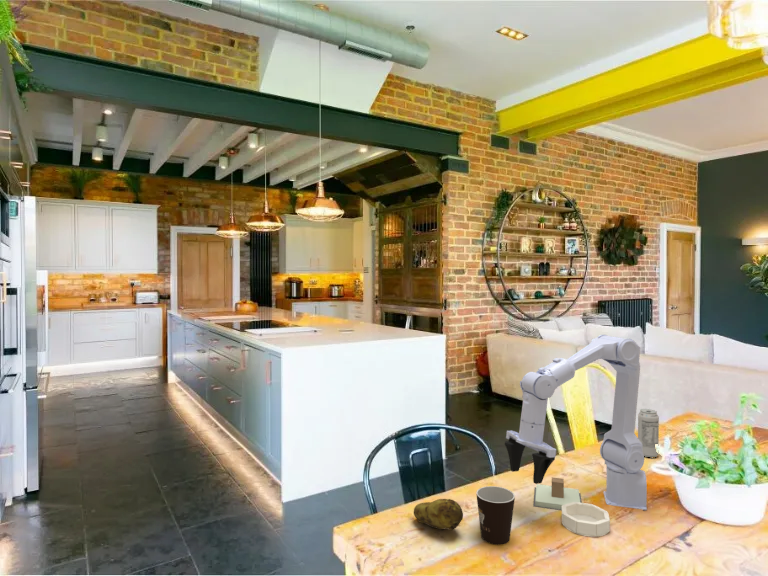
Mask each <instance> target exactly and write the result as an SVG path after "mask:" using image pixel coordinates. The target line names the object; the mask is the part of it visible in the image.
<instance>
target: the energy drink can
mask: <svg viewBox="0 0 768 576" xmlns="http://www.w3.org/2000/svg"><path fill="white" fill-rule="evenodd" d="M639 410H640V411H639V413H638V414H637V416H638V417H637V438H638V439H639V440H640V441H641V443H642V444H643V447H642V451H643V455H644V456H645V457H651V458H650V459H653V458H652V457H656V458H657V456H659V452H658V453H657V452H656V449H655V444H658V445H659V438H660V437H659V436H660V435H659V428H660V427H659V426H660V425H659V423H660V419H659V417H660V416H659V415H658V413H657V412H658V411H657V410H655V409H650V408H641V409H639ZM645 457H644V458H645Z"/></svg>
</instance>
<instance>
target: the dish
mask: <svg viewBox="0 0 768 576" xmlns="http://www.w3.org/2000/svg"><path fill="white" fill-rule="evenodd" d="M610 519H611V518H610V515H609V512H608V511H607V510H605V509H603V508H602V507H599V506H598V505H595V504H593V503H587V502H586V503H585V502H582V503H580V502H572V503H568V504H565V505H562V511H561V524H562V526H563V527H564V528H565V529H567V531H570V532H572V533H574V534H576V535H579V536H583V537H584V536H585V537H591V538H598V537H602V536H603V537H604V536H606V535H608V533H609V532H611V531H610V530H611V527H610V526H611V520H610Z"/></svg>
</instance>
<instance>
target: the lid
mask: <svg viewBox="0 0 768 576" xmlns="http://www.w3.org/2000/svg"><path fill="white" fill-rule="evenodd" d="M564 481H565V480H564V478H559V477H551V485H547V484H542V483H539V484H536V485H535V487H536V499H535V506H541V507H548V508H555V509H562V505H565V504H568V503H572V502H580V496H579V493H580V490H579V488H571V487H565V484H564V483H565V482H564Z"/></svg>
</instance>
